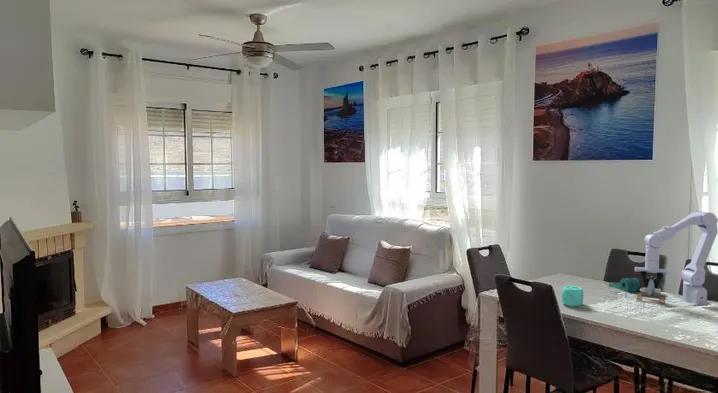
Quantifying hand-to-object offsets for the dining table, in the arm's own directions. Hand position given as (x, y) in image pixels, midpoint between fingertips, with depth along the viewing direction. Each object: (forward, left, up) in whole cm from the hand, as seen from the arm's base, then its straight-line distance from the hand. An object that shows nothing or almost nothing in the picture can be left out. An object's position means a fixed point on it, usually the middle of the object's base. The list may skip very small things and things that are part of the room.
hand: (651, 287), depth 244 cm
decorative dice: (+6, +38, -8) cm, 39 cm away
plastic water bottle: (0, 0, -3) cm, 4 cm away
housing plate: (+4, -4, -7) cm, 9 cm away
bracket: (+24, -5, -8) cm, 26 cm away
